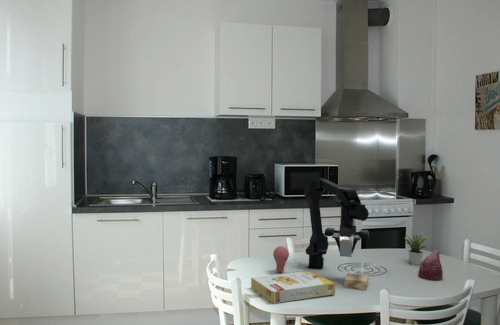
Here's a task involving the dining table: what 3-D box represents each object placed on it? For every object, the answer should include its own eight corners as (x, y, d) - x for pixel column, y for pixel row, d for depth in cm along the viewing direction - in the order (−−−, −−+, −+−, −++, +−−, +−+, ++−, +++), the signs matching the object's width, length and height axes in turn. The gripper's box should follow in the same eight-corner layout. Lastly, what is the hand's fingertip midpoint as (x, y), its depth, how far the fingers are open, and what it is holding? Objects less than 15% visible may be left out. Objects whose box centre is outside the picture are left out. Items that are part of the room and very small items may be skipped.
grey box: (339, 256, 211) (340, 241, 211) (340, 253, 216) (341, 239, 216) (351, 257, 210) (351, 242, 210) (352, 254, 215) (352, 239, 215)
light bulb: (290, 271, 223) (291, 245, 223) (284, 275, 217) (285, 249, 216) (276, 269, 226) (276, 243, 226) (270, 273, 220) (271, 247, 219)
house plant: (429, 260, 250) (431, 229, 249) (435, 268, 236) (436, 235, 235) (401, 258, 253) (402, 227, 252) (404, 265, 239) (406, 233, 238)
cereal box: (336, 282, 191) (273, 290, 179) (335, 295, 192) (273, 304, 180) (308, 269, 210) (250, 276, 198) (308, 282, 210) (249, 289, 198)
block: (344, 288, 202) (344, 279, 202) (347, 282, 210) (347, 273, 210) (366, 291, 199) (366, 281, 199) (368, 285, 207) (368, 275, 207)
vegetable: (439, 282, 223) (450, 252, 223) (441, 286, 214) (451, 254, 213) (416, 274, 227) (426, 244, 227) (417, 277, 217) (427, 245, 217)
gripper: (323, 218, 207) (322, 254, 208) (368, 221, 202) (367, 258, 203) (326, 215, 218) (325, 249, 219) (369, 217, 213) (368, 252, 214)
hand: (346, 252), depth 213 cm, fingers closed on grey box, 5 cm apart
